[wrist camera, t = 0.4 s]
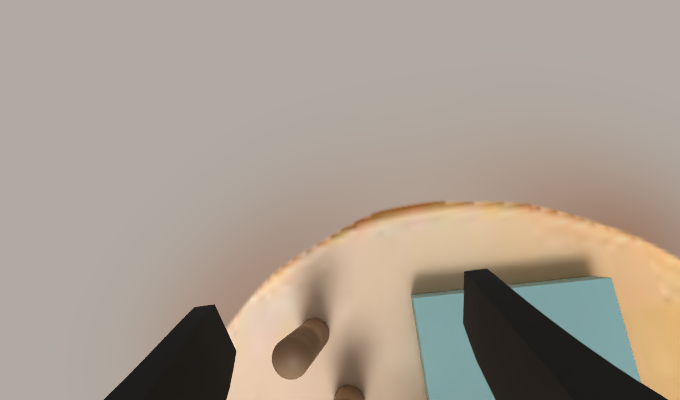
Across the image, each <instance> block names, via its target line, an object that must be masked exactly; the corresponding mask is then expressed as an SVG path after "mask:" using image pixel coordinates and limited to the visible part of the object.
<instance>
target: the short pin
mask: <svg viewBox="0 0 680 400" xmlns="http://www.w3.org/2000/svg"><path fill="white" fill-rule="evenodd" d="M334 400H364V396H363V394H362V392H361V391H360V390H359V389H358V388H357V387H355V386H353V385H345V386H342V387H341V388H339V389H338V391H337V392H336V394H335V397H334Z"/></svg>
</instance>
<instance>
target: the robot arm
mask: <svg viewBox="0 0 680 400" xmlns="http://www.w3.org/2000/svg"><path fill="white" fill-rule="evenodd" d="M463 325H464V328H465V331H466V333H467V336H468V339H469V342H470V345H471V347H472V350H473V353H474V356H475V358H476V361H477V363H478V365H479V367H480V369H481V371H482V373H483V375H484V377H485V379H486V381H487V384H488V386H489V388H490V390H491V392H492V394H493V396H494V398H495V400H668V399H666V398H664V397H663V396H661V395H660V394H658V393H656V392H655V391H653V390H652V389H650V388H648V387H647V386H645V385H644V384H642V383H640V382H639V381H637V380H636V379H634V378H633V377H631V376H630V375H628V374H627V373H625V372H623V371H622V370H620V369H619V368H617V367H616V366H614V365H613V364H612V363H610V362H609V361H607V360H606V359H604V358H603V357H602V356H600V355H599V354H597V353H596V352H594V351H593V350H591V349H590V348H589V347H587V346H586V345H584V344H583V343H582V342H580V341H579V340H577V339H576V338H575V337H573V336H572V335H571V334H569V333H568V332H567V331H565V330H564V329H563V328H561V327H560V326H559V325H557V324H556V323H555V322H553V321H552V320H551V319H549V318H548V317H547V316H545V315H544V314H543V313H542V312H540V311H539V310H538V309H536V308H535V307H534V306H533V305H531V304H530V303H529V302H528V301H526V300H525V299H524V298H523V297H521V296H520V295H519V294H518V293H516V292H515V291H514V290H513V289H511V288H510V287H509V286H508V285H507V284H505V283H504V282H503V281H502V280H500V279H499V278H498V277H497V276H496V275H494V274H493V273H492V272H490V271H489V270H488V269H480V270H473V271H465V272H464V305H463ZM235 356H236V349H235V347H234V345H233V343H232V341H231V339H230V337H229V334H228V332H227V330H226V328H225V326H224V324H223V322H222V320H221V317H220V315H219V313H218V311H217V309H216V307H215V305H208V306H200V307H194V308H193V309H192V310H191V311H190V312H189V313H188V314H187V315H186V316H185V317H184V318H183V319H182V320H181V321H180V322H179V323H178V324H177V325H176V326H175V328H174V329H173V330H172V331H171V332H170V333H169V334H168V335H167V336H166V337H165V338H164V339H163V340H162V341H161V342H160V343H159V344H158V345H157V346H156V347H155V348H154V350H153V351H152V352H151V353H150V354H149V355H148V356H147V357H146V358H145V359H144V360H143V361H142V362H141V363H140V364H139V365H138V366H137V367H136V368H135V369H134V370H133V371H132V372H131V373H130V374H129V375H128V376H127V377H126V378H125V379H124V380H123V381H122V382H121V383H120V384H119V385H118V386H117V387H116V388H115V389H114V390H113V391H112V392H111V393H110V394H109V395H108V396H107V397H106V398H105V399H104V400H226V398H227V395H228V392H229V388H230V383H231V378H232V373H233V368H234V362H235Z"/></svg>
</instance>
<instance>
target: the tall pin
mask: <svg viewBox="0 0 680 400" xmlns="http://www.w3.org/2000/svg"><path fill="white" fill-rule="evenodd" d="M328 339H329V329H328V327H327V325H326V324H325V322H323V321H322V320H320V319H317V318H313V319H309V320H308V321H306V322H305V323H304V324H302V325H301V326H300V327H298V328H297V329H296V330H294V331H293V332H292V333H290V334H289V335H288V336H286V337H285V338H284V339H283V340H281V341H280V342H279V343H278V344H277V345H276V346H275V348H274V350H273V354H272V363H273V367H274V369H275V371H276V372H277V373H278V374H279V375H280V376H281V377H283V378H285V379H290V380H292V379H297V378H299V377H301V376H302V375H303V374H304V373H305V372H306V370H307V369H308V368H309V366H310V365H311V363H312V362H313V361H314V359H315V358H316V357H317V355H318V354H319V352H320V351H321V350H322V348H323V347H324V346H325V344H326V343H327V341H328Z"/></svg>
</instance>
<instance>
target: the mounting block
mask: <svg viewBox="0 0 680 400" xmlns="http://www.w3.org/2000/svg"><path fill="white" fill-rule="evenodd" d="M508 286H509V287H510V288H511V289H513V290H514V291H515V292H516V293H518V294H519V295H520V296H521V297H523V298H524V299H525V300H526V301H528V302H529V303H530V304H531V305H533V306H534V307H535V308H536V309H538V310H539V311H540V312H542V313H543V314H544V315H545V316H547V317H548V318H549V319H551V320H552V321H553V322H555V323H556V324H557V325H559V326H560V327H561V328H563V329H564V330H565V331H567V332H568V333H569V334H571V335H572V336H573V337H575V338H576V339H577V340H579V341H580V342H582V343H583V344H584V345H586V346H587V347H589V348H590V349H591V350H593V351H594V352H596V353H597V354H599V355H600V356H602V357H603V358H604V359H606V360H607V361H609V362H610V363H612V364H613V365H614V366H616V367H617V368H619V369H620V370H622V371H623V372H625V373H627V374H628V375H630V376H631V377H633V378H634V379H636V380H637V381H639V382H640V383H641V381H640V377H639V374H638V370H637V367H636V363H635V360H634V356H633V353H632V349H631V346H630V342H629V339H628V335H627V332H626V328H625V325H624V321H623V318H622V314H621V311H620V307H619V304H618V300H617V297H616V293H615V290H614V286H613V283H612V279H611V278H607V277H594V276H588V277H578V278H569V279H559V280H549V281H540V282H530V283H521V284H511V285H508ZM411 298H412V304H413V311H414V317H415V323H416V330H417V336H418V343H419V349H420V355H421V362H422V368H423V374H424V381H425V387H426V394H427V400H495V398H494V396H493V394H492V392H491V390H490V388H489V386H488V384H487V381H486V379H485V377H484V375H483V373H482V371H481V369H480V367H479V365H478V363H477V361H476V358H475V356H474V353H473V350H472V347H471V345H470V342H469V339H468V336H467V333H466V331H465V328H464V325H463V305H464V289H463V290H454V291H444V292H435V293H425V294H416V295H411Z"/></svg>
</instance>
